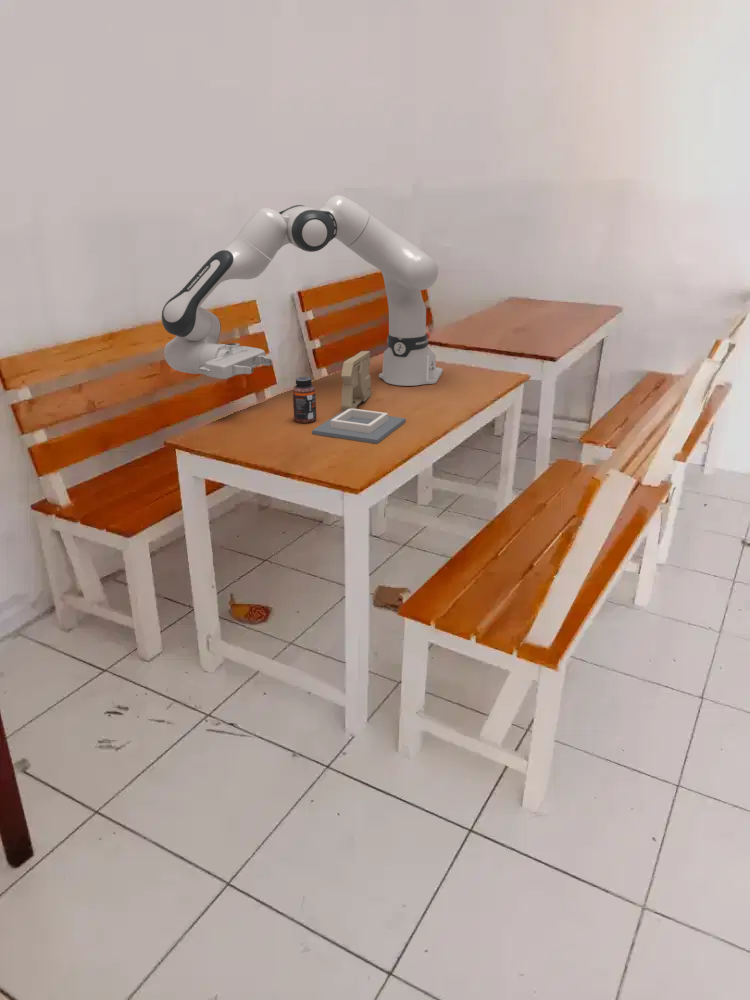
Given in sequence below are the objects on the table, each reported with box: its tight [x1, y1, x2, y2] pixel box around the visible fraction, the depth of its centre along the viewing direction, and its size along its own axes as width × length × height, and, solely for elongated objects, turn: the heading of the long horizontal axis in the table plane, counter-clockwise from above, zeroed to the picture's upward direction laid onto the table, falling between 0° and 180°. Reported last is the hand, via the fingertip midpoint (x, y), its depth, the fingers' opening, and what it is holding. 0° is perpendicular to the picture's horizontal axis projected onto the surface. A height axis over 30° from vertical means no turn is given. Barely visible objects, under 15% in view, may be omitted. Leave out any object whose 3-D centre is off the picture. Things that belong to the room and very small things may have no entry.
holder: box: [311, 408, 407, 445], centre depth 202 cm, size 18×18×3 cm
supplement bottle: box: [292, 376, 318, 424], centre depth 206 cm, size 6×6×11 cm
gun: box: [340, 350, 373, 413], centre depth 217 cm, size 24×3×15 cm, turn 168°
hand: (261, 366), depth 208 cm, fingers open, 8 cm apart
